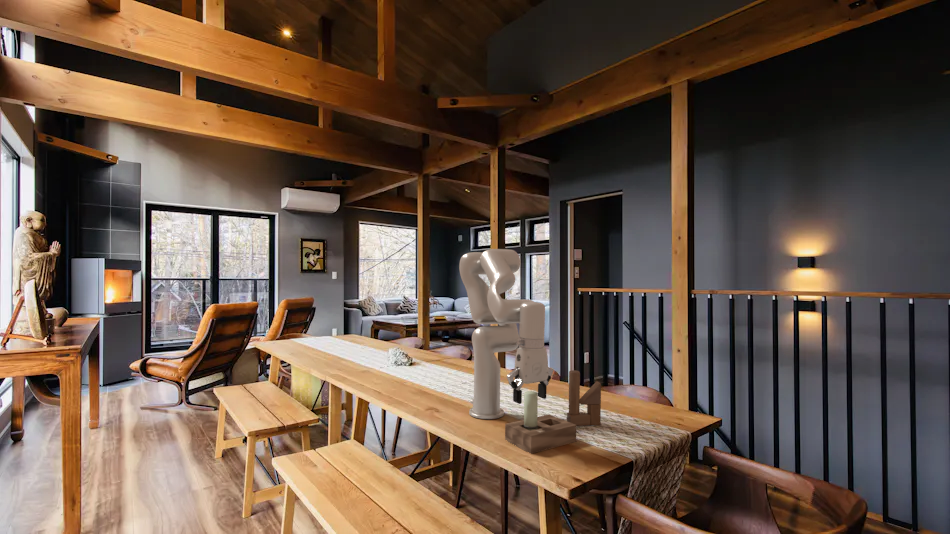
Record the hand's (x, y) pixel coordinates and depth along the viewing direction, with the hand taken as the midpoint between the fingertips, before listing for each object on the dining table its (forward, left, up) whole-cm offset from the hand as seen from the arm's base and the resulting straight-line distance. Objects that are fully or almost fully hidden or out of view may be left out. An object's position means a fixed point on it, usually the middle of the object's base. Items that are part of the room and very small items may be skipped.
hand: (529, 400), depth 135 cm
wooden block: (-3, +27, -13) cm, 30 cm away
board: (+1, +4, -13) cm, 13 cm away
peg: (+1, 0, -12) cm, 12 cm away
